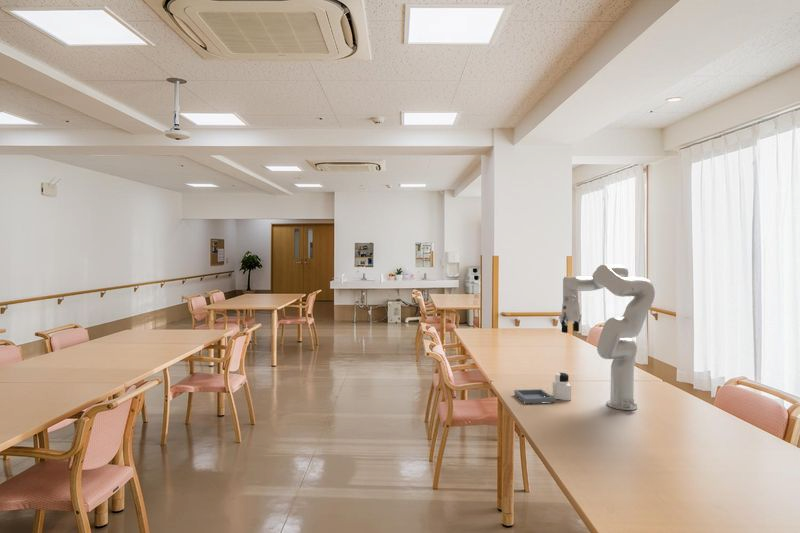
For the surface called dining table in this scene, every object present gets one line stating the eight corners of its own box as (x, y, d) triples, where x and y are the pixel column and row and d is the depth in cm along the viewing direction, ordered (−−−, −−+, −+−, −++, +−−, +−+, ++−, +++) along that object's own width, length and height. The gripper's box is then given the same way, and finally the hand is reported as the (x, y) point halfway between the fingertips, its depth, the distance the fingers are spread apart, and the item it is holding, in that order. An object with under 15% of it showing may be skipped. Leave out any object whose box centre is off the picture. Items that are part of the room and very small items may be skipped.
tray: (554, 403, 210) (554, 397, 210) (525, 404, 209) (525, 398, 209) (541, 394, 224) (541, 389, 224) (514, 395, 223) (514, 390, 223)
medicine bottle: (567, 396, 221) (567, 371, 221) (571, 400, 214) (571, 375, 214) (552, 395, 222) (552, 371, 222) (555, 400, 215) (556, 375, 215)
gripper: (566, 300, 233) (566, 334, 233) (586, 299, 242) (586, 331, 242) (554, 299, 239) (554, 332, 239) (574, 298, 248) (574, 329, 248)
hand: (570, 331), depth 241 cm, fingers open, 9 cm apart
